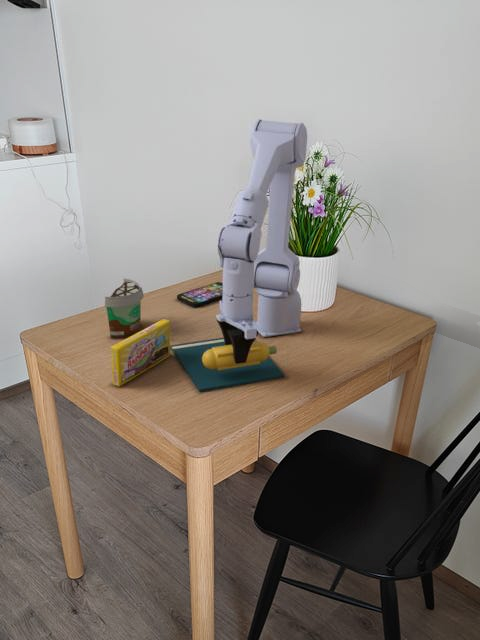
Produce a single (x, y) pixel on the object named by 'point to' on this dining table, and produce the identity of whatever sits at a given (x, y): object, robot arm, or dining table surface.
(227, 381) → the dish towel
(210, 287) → the smartphone
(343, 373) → the dining table surface
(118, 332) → the food container
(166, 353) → the candy box
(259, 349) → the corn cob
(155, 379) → the dining table surface
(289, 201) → the robot arm
